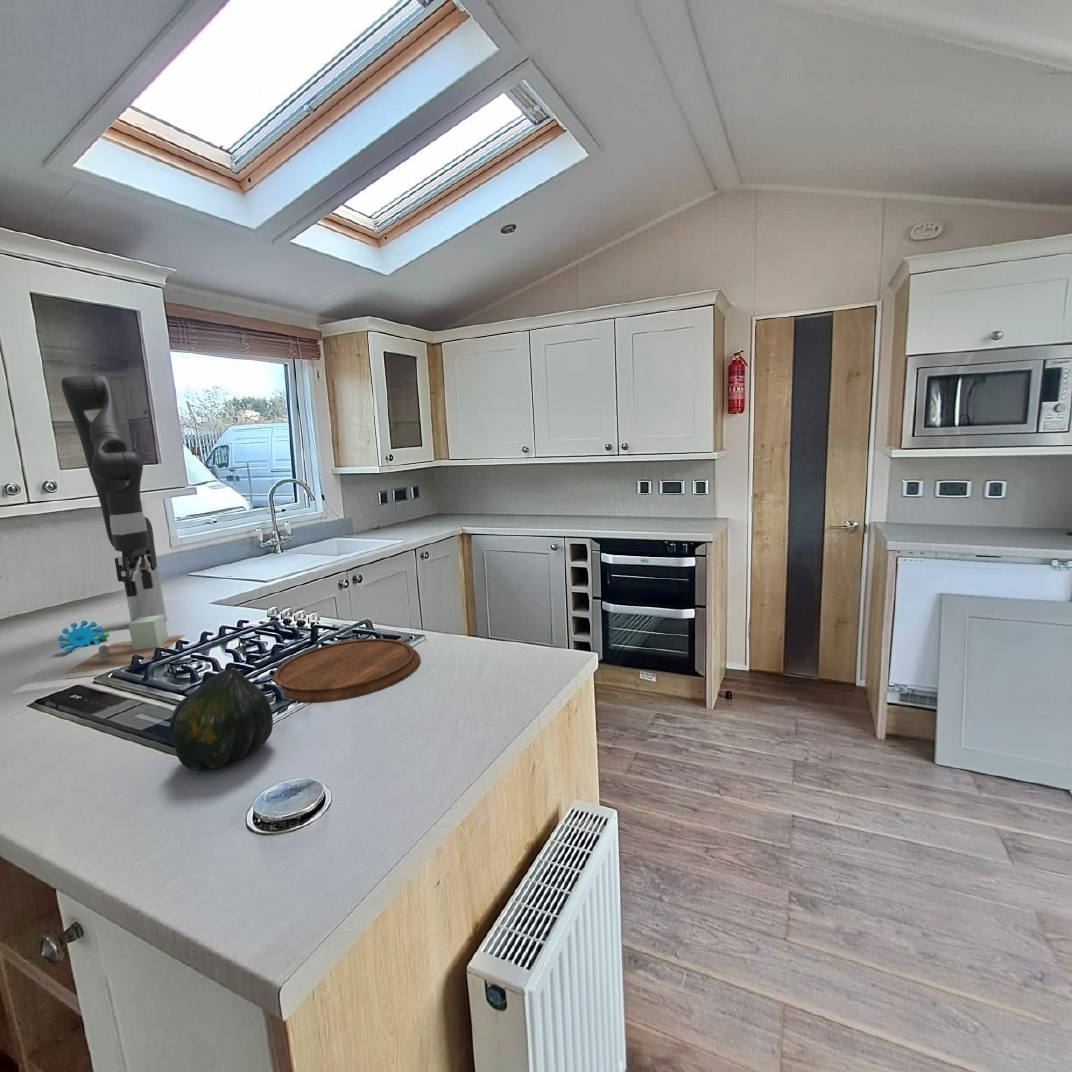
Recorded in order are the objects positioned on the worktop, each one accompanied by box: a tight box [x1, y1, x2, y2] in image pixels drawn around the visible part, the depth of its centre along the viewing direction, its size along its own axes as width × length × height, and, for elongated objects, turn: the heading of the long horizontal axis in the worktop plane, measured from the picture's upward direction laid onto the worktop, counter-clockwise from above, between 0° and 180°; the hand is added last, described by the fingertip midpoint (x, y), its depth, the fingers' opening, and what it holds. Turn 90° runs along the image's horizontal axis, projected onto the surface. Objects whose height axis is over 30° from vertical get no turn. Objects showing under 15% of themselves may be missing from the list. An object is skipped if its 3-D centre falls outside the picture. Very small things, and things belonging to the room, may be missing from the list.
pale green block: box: [128, 615, 169, 650], centre depth 154 cm, size 6×6×7 cm
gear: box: [57, 620, 110, 654], centre depth 161 cm, size 11×6×10 cm
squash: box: [169, 667, 274, 771], centre depth 95 cm, size 14×15×15 cm
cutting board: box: [271, 638, 421, 704], centre depth 130 cm, size 32×32×2 cm
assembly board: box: [64, 634, 185, 680], centre depth 149 cm, size 22×18×6 cm
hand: (140, 592), depth 152 cm, fingers open, 8 cm apart
